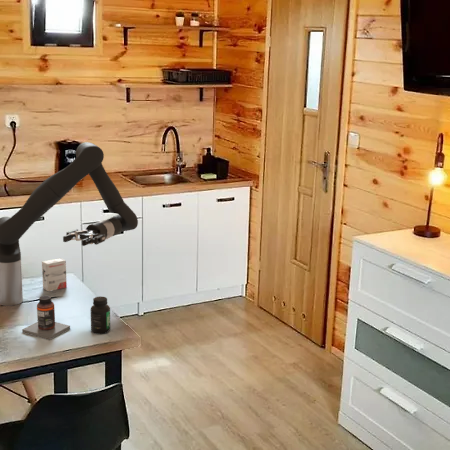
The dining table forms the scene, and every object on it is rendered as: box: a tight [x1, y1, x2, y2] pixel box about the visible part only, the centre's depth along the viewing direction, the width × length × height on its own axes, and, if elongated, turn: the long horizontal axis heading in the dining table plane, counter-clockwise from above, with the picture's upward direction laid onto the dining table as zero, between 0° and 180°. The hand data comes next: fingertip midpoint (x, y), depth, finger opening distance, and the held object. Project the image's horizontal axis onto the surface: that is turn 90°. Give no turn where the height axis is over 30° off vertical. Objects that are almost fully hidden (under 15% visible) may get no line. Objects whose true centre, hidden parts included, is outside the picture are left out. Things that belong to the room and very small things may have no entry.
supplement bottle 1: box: [36, 295, 56, 330], centre depth 247 cm, size 6×6×11 cm
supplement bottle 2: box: [90, 296, 111, 335], centre depth 249 cm, size 7×7×12 cm
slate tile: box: [21, 321, 71, 341], centre depth 248 cm, size 12×11×1 cm
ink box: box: [41, 257, 68, 292], centre depth 288 cm, size 9×5×12 cm, turn 130°
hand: (73, 241), depth 258 cm, fingers open, 8 cm apart
